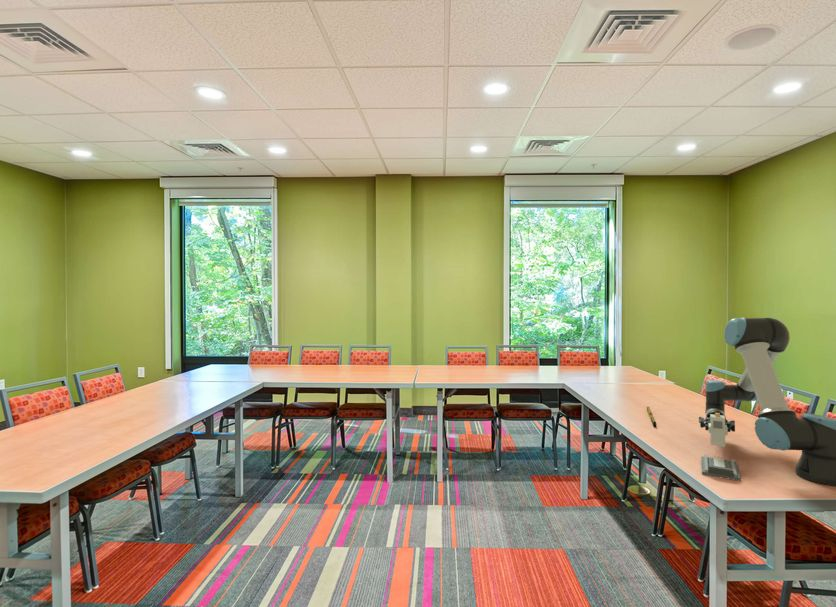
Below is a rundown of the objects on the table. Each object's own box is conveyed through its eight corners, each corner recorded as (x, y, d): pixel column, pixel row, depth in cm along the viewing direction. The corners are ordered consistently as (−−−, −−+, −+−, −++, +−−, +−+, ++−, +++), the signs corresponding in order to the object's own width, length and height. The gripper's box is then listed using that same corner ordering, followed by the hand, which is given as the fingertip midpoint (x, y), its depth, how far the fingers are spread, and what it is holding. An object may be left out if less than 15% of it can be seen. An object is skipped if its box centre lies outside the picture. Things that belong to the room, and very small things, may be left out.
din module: (724, 443, 186) (724, 412, 186) (725, 447, 182) (725, 415, 182) (710, 441, 189) (710, 411, 189) (710, 445, 185) (710, 414, 185)
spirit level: (646, 411, 260) (646, 406, 260) (649, 411, 259) (649, 406, 259) (653, 427, 229) (653, 421, 229) (656, 427, 229) (656, 421, 228)
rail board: (736, 464, 178) (736, 455, 178) (740, 481, 162) (740, 471, 162) (701, 458, 184) (701, 450, 184) (701, 474, 168) (701, 465, 168)
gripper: (740, 429, 196) (745, 443, 176) (692, 423, 206) (692, 436, 186) (740, 412, 196) (745, 425, 176) (692, 407, 206) (692, 419, 186)
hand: (718, 430), depth 181 cm, fingers closed on din module, 5 cm apart
